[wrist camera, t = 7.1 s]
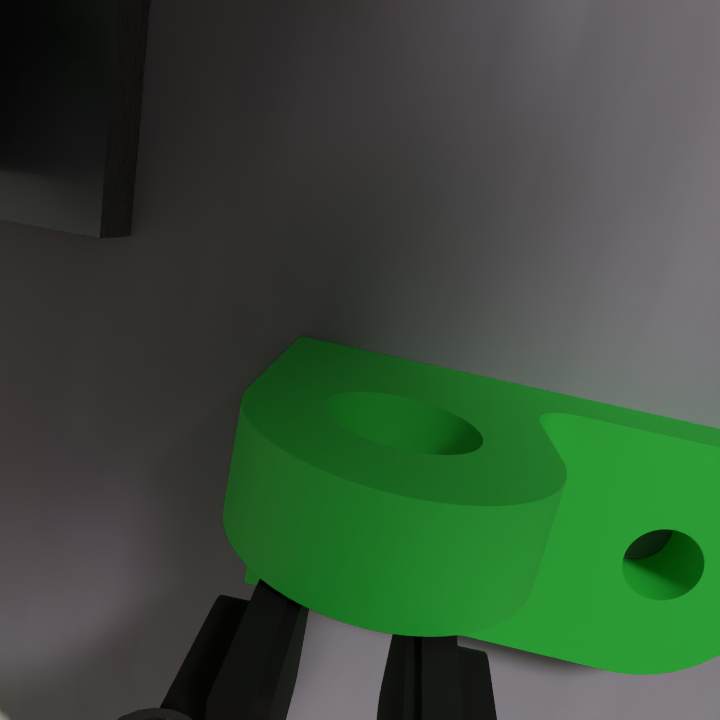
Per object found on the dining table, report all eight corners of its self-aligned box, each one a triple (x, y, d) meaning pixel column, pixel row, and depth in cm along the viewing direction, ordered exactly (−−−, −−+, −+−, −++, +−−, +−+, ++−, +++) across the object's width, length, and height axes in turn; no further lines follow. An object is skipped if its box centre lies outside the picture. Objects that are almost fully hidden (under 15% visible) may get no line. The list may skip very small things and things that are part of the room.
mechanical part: (263, 541, 17) (134, 809, 9) (302, 334, 16) (188, 446, 8) (694, 644, 17) (938, 1018, 9) (775, 439, 15) (1150, 670, 7)
